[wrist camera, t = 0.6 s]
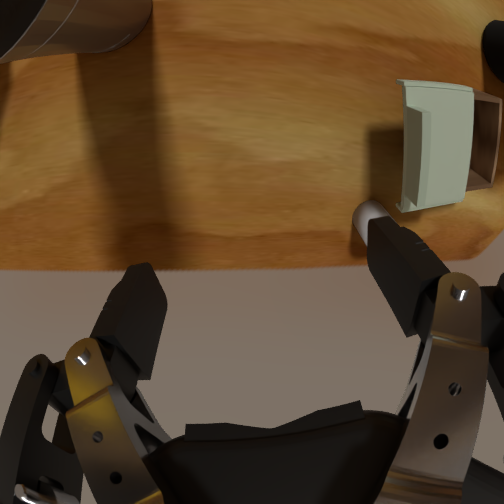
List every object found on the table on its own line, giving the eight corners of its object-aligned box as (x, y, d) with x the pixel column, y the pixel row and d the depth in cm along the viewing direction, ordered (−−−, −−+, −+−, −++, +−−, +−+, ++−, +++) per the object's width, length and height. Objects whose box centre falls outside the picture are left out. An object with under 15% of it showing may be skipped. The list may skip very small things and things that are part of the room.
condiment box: (417, 80, 23) (454, 91, 18) (465, 86, 22) (502, 99, 17) (417, 169, 31) (447, 194, 25) (462, 164, 30) (492, 187, 24)
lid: (395, 79, 18) (421, 85, 15) (463, 85, 17) (489, 94, 14) (395, 206, 27) (413, 227, 23) (455, 195, 26) (475, 213, 23)
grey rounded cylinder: (352, 203, 34) (367, 225, 30) (384, 197, 33) (402, 218, 29) (352, 233, 37) (365, 256, 33) (382, 226, 36) (398, 249, 32)
